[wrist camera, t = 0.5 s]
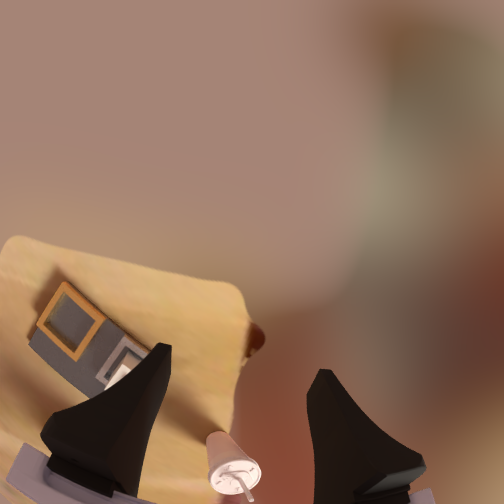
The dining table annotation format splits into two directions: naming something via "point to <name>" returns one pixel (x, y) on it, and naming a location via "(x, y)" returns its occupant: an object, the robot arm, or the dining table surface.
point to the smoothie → (230, 466)
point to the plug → (123, 368)
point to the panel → (81, 341)
